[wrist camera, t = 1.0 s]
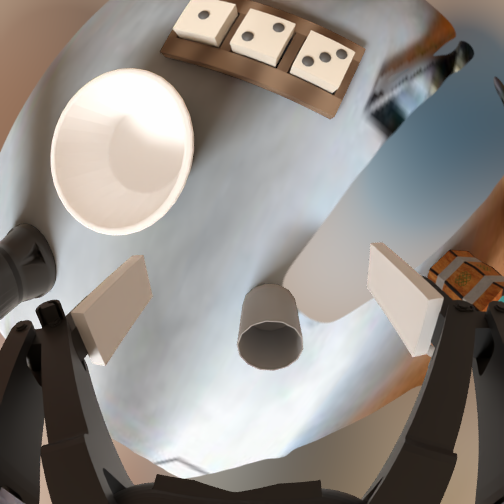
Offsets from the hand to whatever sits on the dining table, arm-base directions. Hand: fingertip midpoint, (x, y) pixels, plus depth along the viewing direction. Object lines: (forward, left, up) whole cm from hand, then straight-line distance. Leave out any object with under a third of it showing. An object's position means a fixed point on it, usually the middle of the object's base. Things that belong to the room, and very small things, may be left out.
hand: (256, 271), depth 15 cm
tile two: (-9, +21, -22) cm, 31 cm away
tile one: (-17, +21, -22) cm, 34 cm away
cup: (+8, -14, -24) cm, 29 cm away
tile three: (-1, +21, -22) cm, 30 cm away
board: (-9, +21, -24) cm, 32 cm away
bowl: (-18, +1, -24) cm, 30 cm away
